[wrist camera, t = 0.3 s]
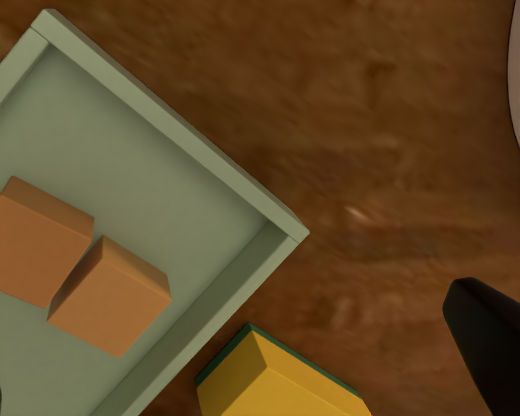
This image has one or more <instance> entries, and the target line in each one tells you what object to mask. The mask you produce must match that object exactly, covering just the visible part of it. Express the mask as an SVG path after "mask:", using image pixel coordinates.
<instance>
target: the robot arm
mask: <svg viewBox="0 0 520 416" xmlns="http://www.w3.org/2000/svg"><path fill="white" fill-rule="evenodd" d="M443 315H444V318H445V320H446V322H447V325H448V327H449V329H450V331H451V333H452V336H453V338H454V340H455V342H456V344H457V347H458V349H459V351H460V353H461V355H462V358H463V360H464V362H465V364H466V366H467V369H468V371H469V373H470V375H471V377H472V379H473V381H474V383H475V385H476V387H477V388H478V390H479V392H480V394H481V396H482V397H483V399H484V401H485V403H486V404H487V406H488V408H489V409H490V411H491V413H492V415H493V416H520V303H519V302H517V301H515V300H513V299H512V298H510V297H508V296H506V295H505V294H503V293H501V292H499V291H497V290H496V289H494V288H492V287H490V286H489V285H487V284H485V283H483V282H481V281H480V280H478V279H476V278H473V277H467V278H461V279H456V280H454V281H453V282H452V283H451V286H450V288H449V291H448V293H447V296H446V298H445V301H444V303H443ZM1 403H2V393H1V387H0V415H1Z"/></svg>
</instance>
